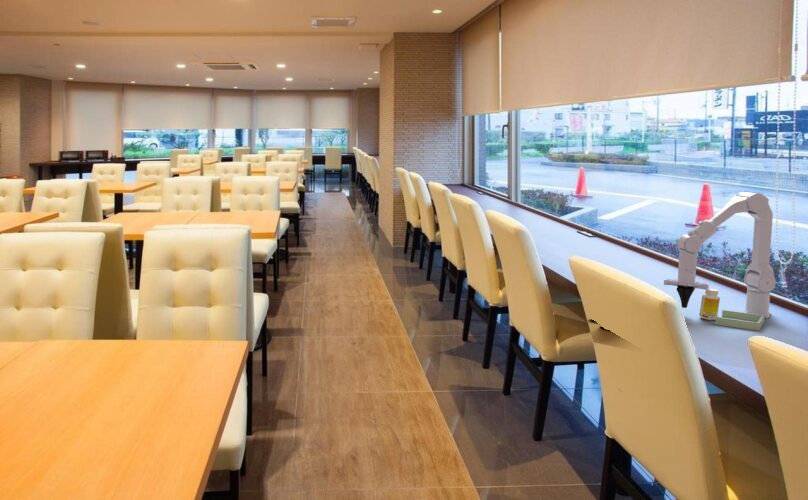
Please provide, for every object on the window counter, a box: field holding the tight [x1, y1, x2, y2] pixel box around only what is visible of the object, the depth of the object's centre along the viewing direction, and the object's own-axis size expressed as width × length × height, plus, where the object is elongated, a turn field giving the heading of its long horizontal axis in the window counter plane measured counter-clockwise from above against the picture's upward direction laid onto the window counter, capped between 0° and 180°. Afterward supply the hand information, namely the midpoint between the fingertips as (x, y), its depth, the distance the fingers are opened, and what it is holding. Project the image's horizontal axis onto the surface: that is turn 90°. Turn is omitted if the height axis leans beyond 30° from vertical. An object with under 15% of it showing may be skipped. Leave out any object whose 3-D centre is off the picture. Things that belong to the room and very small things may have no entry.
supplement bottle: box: [698, 287, 721, 321], centre depth 225 cm, size 6×6×10 cm
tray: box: [714, 309, 766, 332], centre depth 220 cm, size 13×13×2 cm
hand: (684, 307), depth 230 cm, fingers closed
